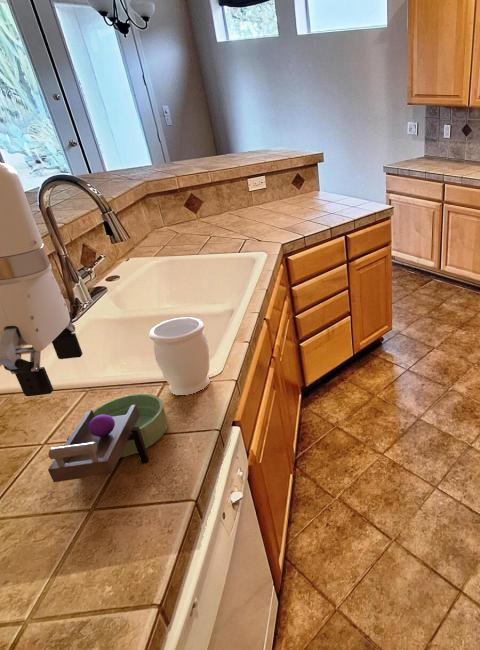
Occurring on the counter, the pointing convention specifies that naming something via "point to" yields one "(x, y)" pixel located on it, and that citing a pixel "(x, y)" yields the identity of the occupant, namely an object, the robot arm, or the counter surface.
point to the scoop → (91, 449)
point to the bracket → (138, 444)
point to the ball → (101, 425)
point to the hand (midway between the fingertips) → (56, 374)
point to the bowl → (149, 417)
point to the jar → (182, 354)
